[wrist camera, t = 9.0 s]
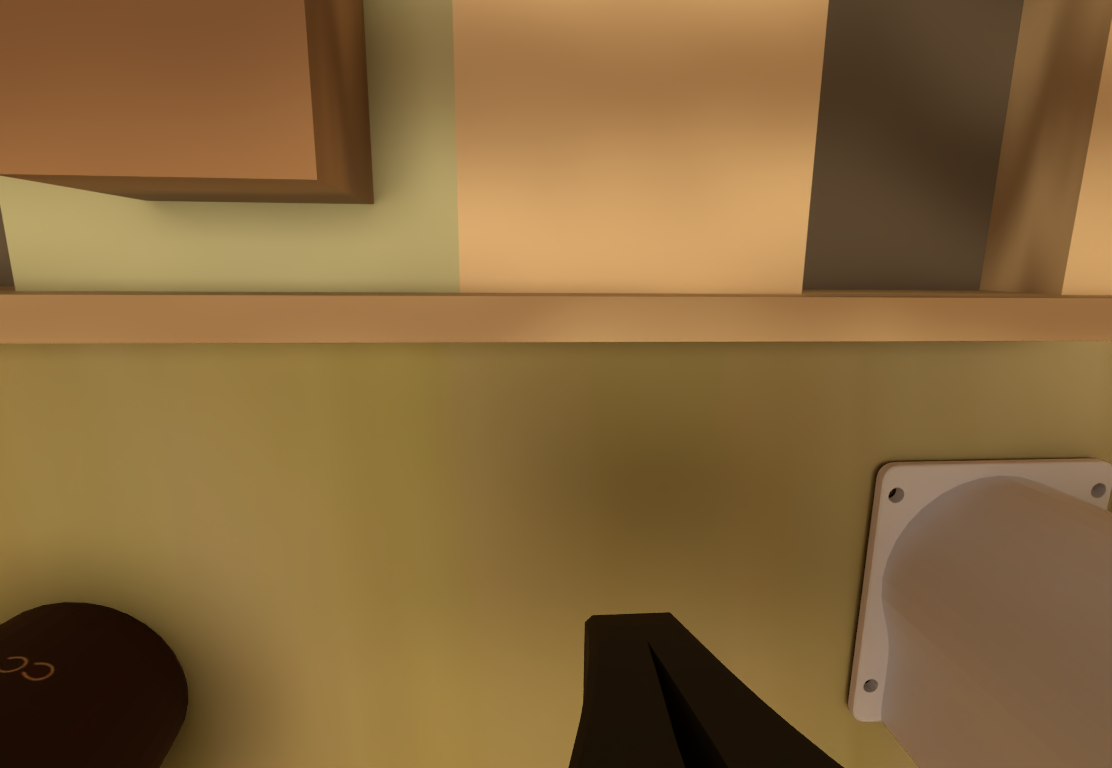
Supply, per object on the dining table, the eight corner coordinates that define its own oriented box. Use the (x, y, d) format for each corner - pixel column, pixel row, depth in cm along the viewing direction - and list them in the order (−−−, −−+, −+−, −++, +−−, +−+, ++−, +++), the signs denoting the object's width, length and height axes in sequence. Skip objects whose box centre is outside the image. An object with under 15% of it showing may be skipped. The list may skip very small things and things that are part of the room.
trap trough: (1011, 322, 18) (1169, 340, 14) (-220, 321, 16) (-507, 344, 11) (1077, -75, 16) (1290, -202, 12) (-347, -154, 13) (-765, -357, 9)
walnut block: (374, 204, 13) (317, 179, 9) (146, 200, 13) (-11, 173, 9) (360, -41, 12) (290, -181, 8) (113, -52, 12) (-80, -205, 8)
